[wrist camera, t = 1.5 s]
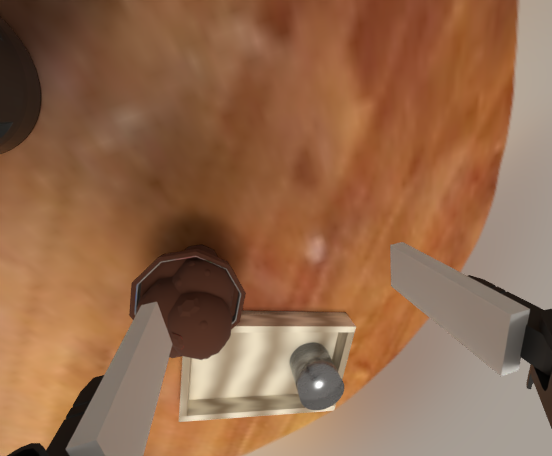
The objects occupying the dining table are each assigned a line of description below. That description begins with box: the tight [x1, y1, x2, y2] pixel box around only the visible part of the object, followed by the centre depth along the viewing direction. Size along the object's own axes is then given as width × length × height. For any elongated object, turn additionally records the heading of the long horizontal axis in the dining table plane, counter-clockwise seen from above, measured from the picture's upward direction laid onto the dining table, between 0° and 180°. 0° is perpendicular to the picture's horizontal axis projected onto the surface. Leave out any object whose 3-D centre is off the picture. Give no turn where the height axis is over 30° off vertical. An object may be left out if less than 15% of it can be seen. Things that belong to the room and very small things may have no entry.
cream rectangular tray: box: [179, 311, 356, 422], centre depth 39 cm, size 24×16×4 cm, turn 82°
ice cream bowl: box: [129, 245, 246, 360], centre depth 27 cm, size 11×11×15 cm
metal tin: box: [290, 342, 344, 410], centre depth 38 cm, size 6×6×6 cm
